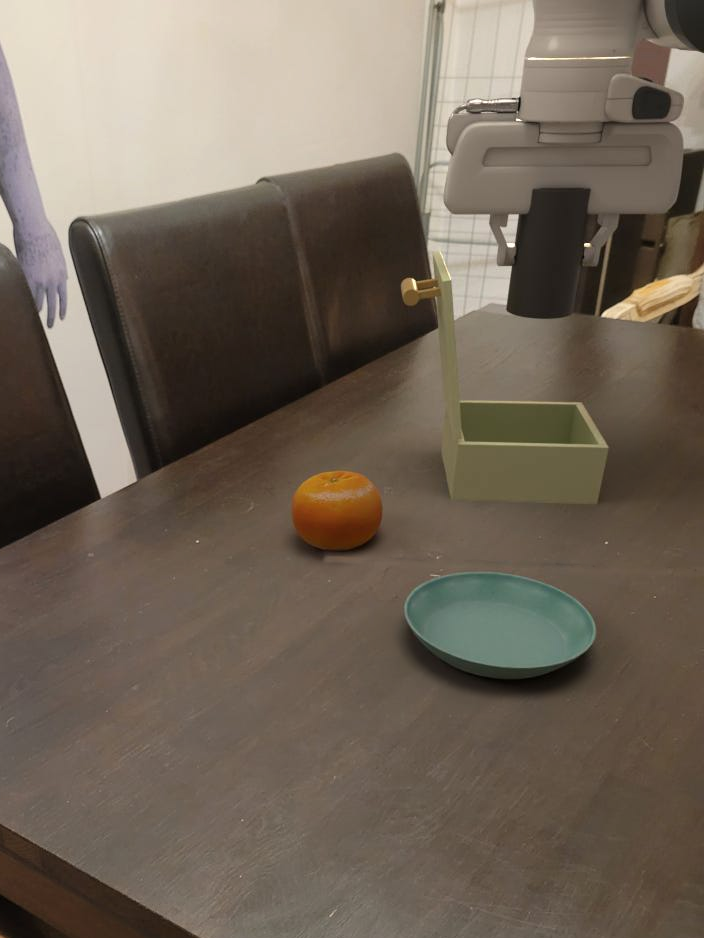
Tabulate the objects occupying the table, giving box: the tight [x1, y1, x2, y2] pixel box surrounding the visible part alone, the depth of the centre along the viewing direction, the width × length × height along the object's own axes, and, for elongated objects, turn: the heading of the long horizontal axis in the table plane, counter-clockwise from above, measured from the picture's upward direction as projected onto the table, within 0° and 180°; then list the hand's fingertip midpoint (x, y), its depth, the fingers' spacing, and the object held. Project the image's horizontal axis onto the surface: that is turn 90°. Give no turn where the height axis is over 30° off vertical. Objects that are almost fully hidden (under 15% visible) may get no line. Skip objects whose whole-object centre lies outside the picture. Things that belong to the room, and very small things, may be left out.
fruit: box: [290, 470, 383, 551], centre depth 91 cm, size 8×8×8 cm
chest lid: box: [400, 250, 462, 440], centre depth 97 cm, size 15×14×4 cm
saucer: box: [403, 571, 597, 680], centre depth 76 cm, size 15×15×3 cm
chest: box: [440, 399, 610, 505], centre depth 102 cm, size 15×14×7 cm
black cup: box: [505, 188, 591, 320], centre depth 89 cm, size 6×6×11 cm
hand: (546, 265), depth 90 cm, fingers closed on black cup, 6 cm apart
